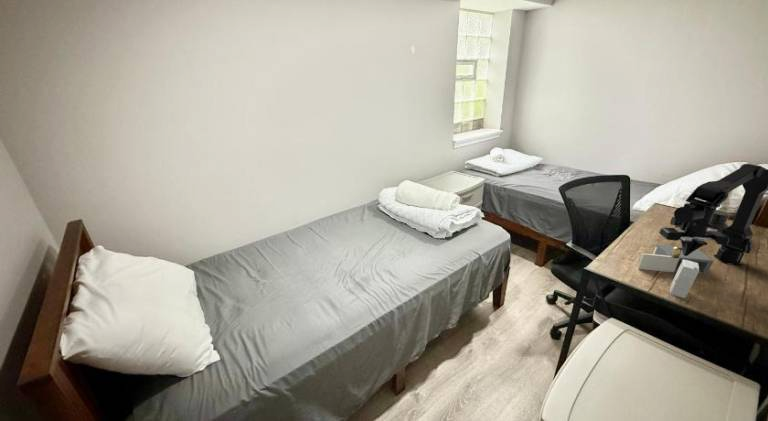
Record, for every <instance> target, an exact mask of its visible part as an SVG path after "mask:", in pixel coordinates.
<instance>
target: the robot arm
mask: <svg viewBox="0 0 768 421" xmlns="http://www.w3.org/2000/svg"><path fill="white" fill-rule="evenodd" d="M740 186H742V187H743V189H744V193H743V196H742V198H741V200H740V201H741V202H739V203H740V204H739V205H738V208H737V211H736V214H735V216H734V217H733V220H732V223H731V224H730V225H728V227H727V228H725V229H723V230H722V232H721V233H720V232H717V231H707V229H708V227H712V224H710V222H711V220H712V218H713V215H714V213H715V211H716V210H717V208H720V207H721V204H723V203H724V202H725V201H726V200H727V199H728V198H729V195H730V193H731V192H732V191H734V190H735V189H737V188H739V187H740ZM767 192H768V169H767V168H765V167H763V166H761V165H757V164H751V163H743V164H742V165H741V166H740V167H739V168H738V169H736V170H734V171H733V172H730V173H729V174H727V175H725V176H724V177H722V178H720V179H718V180H714V181H713V180H711V181H707V182H704V183H702V184H700V185H699V186H697V187H696V188H695V189H694V190H693V192H691V193H690V194H689V196H688V197H687V198H686V199H685V202H687V203H684V204H683V206H680V207H678V208H676V209H675V210H674V212H673V216H672V217H671V219H670V223H669V224H670V225H671V226H674V227H667V226H666V227H665V226H664V227H661V228H660V230H659V232H658V233H659V235H660V236H661V237H663V238H665V239H666V240H668V241H680V243H681V247H682V250H683V255H684V256H688V255H689V254H690V253H692V252H693V251H695V250H696V249H701V248H702V247H703V246H707V245H708V242H707V240H715V241H714V242H715V243H716V244H717V245H721V246H720V248H718V250H717V253H716V254H713V257H714V258H716V259H718V260H719V261H720V262H722V263H723V264H729V265H739V266H744V263H742V262H741V261H742V259H743V257H744V255H745V254H751V252H752V251H753V249H754V248H755V246H754V245H755V244H754V243H753V240H752V239H753V236H754V233H753V231H752V229H751V225H752V222H753V220H754V218H755V216H756V214H757V212H758V209H759V207H760V204H761V202H762V200H763V199H764V196H765V193H767ZM676 228H679V230H681V231H679V230H678V229H676ZM706 231H707V232H706Z"/></svg>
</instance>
